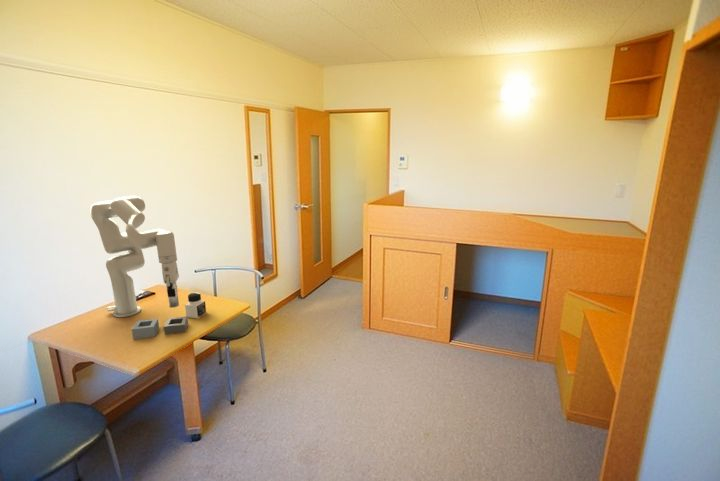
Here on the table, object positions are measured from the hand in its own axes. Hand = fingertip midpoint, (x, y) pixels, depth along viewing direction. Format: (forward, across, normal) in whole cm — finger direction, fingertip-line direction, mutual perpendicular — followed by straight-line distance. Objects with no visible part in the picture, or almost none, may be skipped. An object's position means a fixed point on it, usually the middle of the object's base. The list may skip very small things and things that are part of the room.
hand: (172, 294), depth 173 cm
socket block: (+18, -1, +13) cm, 22 cm away
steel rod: (+6, 0, 0) cm, 6 cm away
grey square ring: (+18, 0, 0) cm, 18 cm away
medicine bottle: (+18, +14, -7) cm, 24 cm away
